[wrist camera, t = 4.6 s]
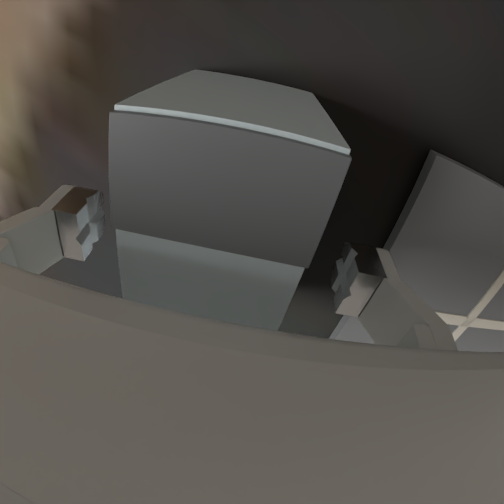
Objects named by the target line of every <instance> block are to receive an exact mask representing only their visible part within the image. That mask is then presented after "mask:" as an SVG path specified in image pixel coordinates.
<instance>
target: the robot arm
mask: <svg viewBox="0 0 504 504" xmlns="http://www.w3.org/2000/svg"><path fill="white" fill-rule="evenodd" d="M103 203H104V198H103V193H102V192H101V191H99V190H94V189H88V188H83V187H78V186H77V187H76V186H72V185H62V186H61V187H60V188H59V189H58V190H56V191H55V192H54V193H53V194H52V195H51V196H50V197H49V198H48V199H47V200H46V201H45V202H44V203H43V204H42V205H41V206H40V207H34V208H31V209H29V210H26V211H24V212H21V213H19V214H17V215H14V216H12V217H10V218H7V219H5V220H3V221H0V504H504V352H480V351H458V349H457V346H456V343H455V341H454V338H453V335H452V333H451V330H450V327H449V326H448V325H447V324H446V323H445V322H444V321H443V320H442V319H441V318H440V317H439V316H438V315H437V314H436V313H435V312H434V311H433V310H432V309H431V308H430V307H429V306H428V305H427V304H426V303H425V302H424V301H423V300H422V299H421V298H420V297H419V296H418V295H417V294H416V293H415V292H414V291H413V290H412V289H411V288H410V287H409V286H408V285H407V284H406V283H405V282H401V280H400V278H399V275H398V272H397V270H396V268H395V265H394V263H393V260H392V258H391V255H390V253H389V251H387V250H386V249H381V248H376V247H371V246H366V245H362V244H357V243H352V242H346V243H345V244H344V246H343V248H342V250H341V254H342V258H340V259H339V260H337V261H336V262H335V265H334V267H333V269H332V274H331V288H332V289H333V291H334V292H335V295H334V297H333V301H334V307H335V313H337V314H343V315H348V316H354V317H359V318H358V319H359V321H360V322H361V324H362V325H363V326H364V328H365V329H366V331H367V332H368V334H369V335H370V337H371V338H372V339H373V341H374V342H375V344H369V343H360V342H351V341H343V340H335V339H328V338H320V337H313V336H307V335H300V334H293V333H287V332H281V331H275V330H269V329H263V328H257V327H252V326H246V325H241V324H235V323H230V322H225V321H220V320H215V319H210V318H205V317H200V316H195V315H190V314H186V313H181V312H176V311H172V310H168V309H163V308H159V307H155V306H150V305H146V304H142V303H138V302H134V301H130V300H126V299H122V298H118V297H114V296H111V295H107V294H103V293H99V292H96V291H92V290H89V289H85V288H82V287H78V286H75V285H71V284H68V283H64V282H61V281H58V280H55V279H51V278H48V277H45V276H42V275H39V274H40V273H41V272H43V271H44V270H46V269H47V268H49V267H50V266H52V265H53V264H55V263H56V262H58V261H59V260H61V259H62V258H63V257H67V258H72V259H76V260H80V261H85V259H86V258H87V256H88V255H89V253H90V252H91V250H92V249H93V247H92V243H94V242H96V241H98V240H99V239H100V237H101V236H102V233H103V230H104V227H105V214H104V212H103V211H102V209H101V206H102V205H103Z"/></svg>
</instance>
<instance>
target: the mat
mask: <svg viewBox="0 0 504 504" xmlns="http://www.w3.org/2000/svg"><path fill="white" fill-rule="evenodd" d="M383 249H386V250H387V251H389V253H390V255H391V258H392V260H393V263H394V265H395V268H396V270H397V272H398V275H399V278H400V280H401V282H405V283H406V284H407V285H408V286H409V287H410V288H411V289H412V290H413V291H414V292H415V293H416V294H417V295H418V296H419V297H420V298H421V299H422V300H423V301H424V302H425V303H426V304H427V305H428V306H429V307H430V308H431V309H432V310H433V311H434V312H435V313H436V314H437V315H438V316H439V317H440V318H441V319H442V320H443V321H444V322H445V323H446V324H447V325H448V326H449V327H450V330H451V333H452V335H453V338H454V341H455V343H456V346H457V349H458V351H480V352H504V186H502V185H500V184H499V183H497V182H495V181H493V180H491V179H490V178H488V177H486V176H484V175H482V174H480V173H478V172H477V171H475V170H473V169H471V168H469V167H467V166H465V165H463V164H461V163H459V162H457V161H455V160H453V159H451V158H448V157H446V156H444V155H442V154H440V153H438V152H436V151H433V150H431V149H430V152H429V154H428V156H427V159H426V161H425V163H424V165H423V168H422V170H421V172H420V174H419V177H418V179H417V181H416V183H415V185H414V188H413V190H412V192H411V194H410V196H409V198H408V200H407V202H406V204H405V206H404V208H403V210H402V212H401V214H400V216H399V218H398V220H397V222H396V224H395V226H394V228H393V230H392V232H391V234H390V236H389V238H388V240H387V241H386V243H385V245H384V247H383ZM358 318H359V317H354V316H348V315H344V316H343V317H342V319H341V320H340V322H339V323H338V325H337V327H336V328H335V330H334V331H333V333H332V334H331V336H330V337H329V339H335V340H343V341H351V342H360V343H369V344H375V342H374V341H373V339H372V338H371V337H370V335H369V334H368V332H367V331H366V329H365V328H364V326H363V325H362V324H361V322H360V321H359V319H358Z"/></svg>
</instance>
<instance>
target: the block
mask: <svg viewBox="0 0 504 504" xmlns="http://www.w3.org/2000/svg"><path fill="white" fill-rule="evenodd" d="M350 151H351V149H350V147H349V146H348V144H347V143H346V141H345V140H344V138H343V136H342V135H341V133H340V132H339V130H338V129H337V127H336V126H335V124H334V123H333V121H332V120H331V119H330V117H329V116H328V114H327V113H326V111H325V110H324V108H323V107H322V106H321V104H320V103H319V101H318V100H317V99H316V97H315V96H314V94H313V93H311V92H307V91H304V90H300V89H296V88H292V87H288V86H284V85H280V84H275V83H271V82H266V81H262V80H257V79H252V78H247V77H241V76H236V75H230V74H224V73H218V72H211V71H204V70H196V69H195V70H193V71H190V72H187V73H185V74H182V75H180V76H177V77H175V78H172V79H170V80H167V81H165V82H162V83H160V84H158V85H155V86H153V87H151V88H149V89H146V90H144V91H142V92H140V93H138V94H135V95H133V96H131V97H129V98H127V99H125V100H123V101H121V102H119V103H117V104H115V109H114V110H113V111H111V112H109V194H110V213H111V227H112V228H114V229H116V240H117V251H118V261H119V271H120V279H121V287H122V295H123V299H126V300H130V301H134V302H138V303H142V304H146V305H150V306H155V307H159V308H163V309H168V310H172V311H176V312H181V313H186V314H190V315H195V316H200V317H205V318H210V319H215V320H220V321H225V322H230V323H235V324H241V325H246V326H252V327H257V328H263V329H269V330H275V331H278V328H279V326H280V324H281V322H282V320H283V317H284V315H285V313H286V311H287V308H288V306H289V304H290V301H291V299H292V297H293V295H294V292H295V290H296V288H297V285H298V283H299V281H300V278H301V276H302V274H303V271H304V269H305V268H309V265H310V263H311V261H312V258H313V256H314V254H315V251H316V249H317V247H318V244H319V242H320V239H321V237H322V234H323V232H324V230H325V227H326V225H327V222H328V220H329V217H330V215H331V212H332V210H333V207H334V205H335V202H336V199H337V197H338V194H339V192H340V189H341V186H342V184H343V181H344V179H345V176H346V173H347V171H348V168H349V165H350V163H351V160H352V158H351V156H350V154H349V153H350Z"/></svg>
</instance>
